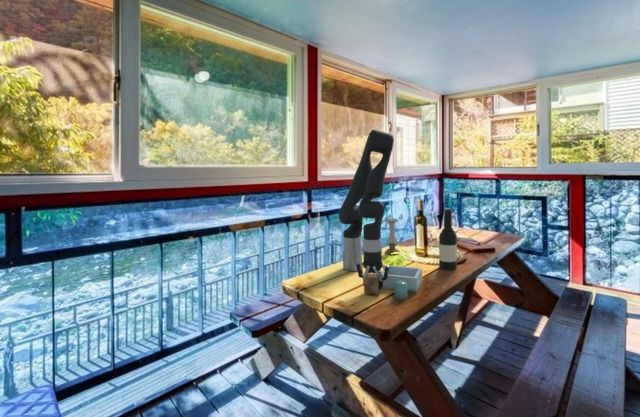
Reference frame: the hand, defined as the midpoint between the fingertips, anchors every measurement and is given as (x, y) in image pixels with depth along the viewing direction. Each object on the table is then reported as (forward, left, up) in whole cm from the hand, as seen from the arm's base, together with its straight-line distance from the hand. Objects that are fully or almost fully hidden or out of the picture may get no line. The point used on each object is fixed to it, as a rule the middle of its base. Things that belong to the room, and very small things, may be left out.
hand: (373, 288), depth 142 cm
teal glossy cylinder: (+12, 0, -2) cm, 12 cm away
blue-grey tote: (+9, +14, -2) cm, 17 cm away
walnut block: (0, 0, -1) cm, 1 cm away
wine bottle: (+26, +44, -3) cm, 51 cm away
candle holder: (-7, +64, -3) cm, 64 cm away
